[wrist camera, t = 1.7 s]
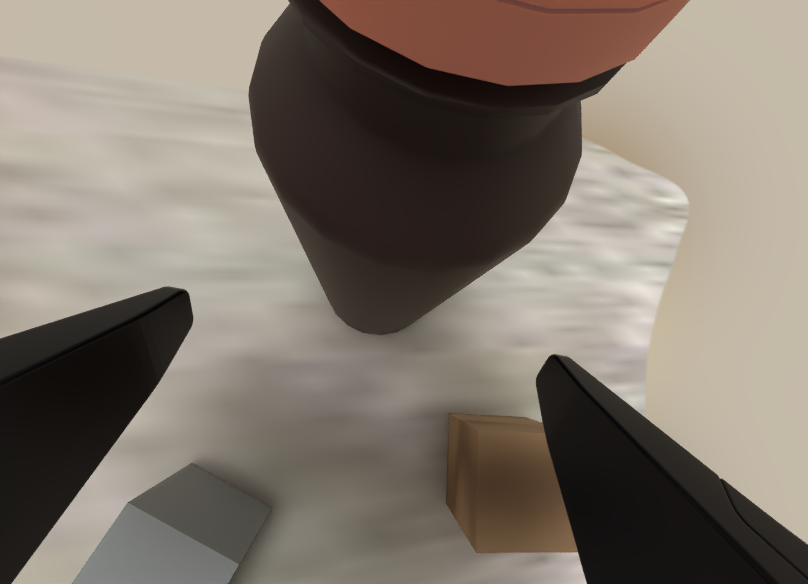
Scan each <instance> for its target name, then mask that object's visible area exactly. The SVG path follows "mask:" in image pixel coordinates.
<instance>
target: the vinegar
mask: <svg viewBox="0 0 808 584" xmlns="http://www.w3.org/2000/svg"><path fill="white" fill-rule="evenodd" d="M689 1H690V0H289V2H290V4H289V6H288V7H287V8H286V9H285V10H284V12H283V13H282V15H281V16H280V17H279V18H278V20H277V21H276V22H275V23H274V25H273V26H272V27H271V29H270V30H269V31H268V32H267V34H266V35H265V37H264V39H263V41H262V43H261V46H260V50H259V54H258V57H257V61H256V65H255V68H254V72H253V75H252V79H251V83H250V86H249V103H250V111H251V119H252V127H253V135H254V143H255V148H256V152H257V154H258V156H259V158H260V161H261V163H262V165H263V167H264V169H265V171H266V173H267V175H268V177H269V179H270V181H271V183H272V185H273V187H274V189H275V191H276V193H277V195H278V197H279V199H280V202H281V204H282V206H283V208H284V210H285V212H286V214H287V216H288V218H289V220H290V222H291V224H292V226H293V228H294V230H295V232H296V234H297V236H298V238H299V241H300V243H301V245H302V247H303V249H304V251H305V253H306V255H307V257H308V259H309V261H310V263H311V265H312V267H313V269H314V271H315V273H316V275H317V277H318V279H319V282H320V284H321V286H322V288H323V290H324V292H325V294H326V296H327V298H328V300H329V302H330V304H331V306H332V307H333V309H334V311H335V313H336V314H337V315H338V316H339V317H340V318H341V319H342V320H343V321H344V322H345V323H346V324H347V325H349V326H351V327H353V328H355V329H357V330H359V331H362V332H364V333H371V334H379V335H382V334H387V333H392V332H397V331H399V330H401V329H403V328H405V327H406V326H408V325H410V324H412V323H413V322H415V321H416V320H418V319H419V318H421V317H422V316H424V315H425V314H426V313H428V312H429V311H431V310H432V309H434V308H435V307H437V306H438V305H439V304H441V303H442V302H444V301H445V300H447V299H448V298H450V297H451V296H453V295H454V294H455V293H457V292H458V291H460V290H461V289H463V288H464V287H466V286H467V285H469V284H470V283H471V282H473V281H474V280H476V279H477V278H479V277H480V276H482V275H483V274H485V273H486V272H487V271H489V270H490V269H492V268H493V267H495V266H496V265H498V264H499V263H501V262H502V261H503V260H505V259H506V258H508V257H509V256H511V255H512V254H514V253H515V252H517V251H518V250H519V249H521V248H522V247H524V246H525V245H527V244H528V243H530V241H531V240H532V239H533V238H534V237H535V236H536V235H537V234H538V233H539V232H540V230H541V229H542V228H543V227H544V226H545V225H546V223H547V222H548V221H549V220H550V219H551V218H552V217H553V215H554V214H555V213H556V212H557V211H558V210H559V208H560V207H561V206H562V205H563V204H564V202H565V200H566V198H567V195H568V192H569V189H570V187H571V184H572V181H573V178H574V175H575V172H576V170H577V167H578V164H579V161H580V158H581V154H582V134H581V133H582V132H581V131H582V130H581V129H582V128H581V102H580V101H581V100H583V99H586V98H588V97H590V96H593V95H595V94H597V93H598V92H599V91H600V90H601V89H602V88H603V87H604V86H605V85H606V84H607V83H608V82H609V81H610V80H611V78H612V77H613V76H614V75H615V74H616V73H617V72H618V71H619V70H620V69H621V68H622V67H623V66H624V65H625V64H626V63H627V62H629V61H631V60H634V59H635V58H636V57H637V56H638V55H639V54H640V53H641V52H642V51H643V49H645V48H646V47H647V46H648V45H649V43H650V42H651V41H652V40H653V39H654V38H655V37H656V36H657V35H658V34H659V33H660V32H661V31H662V30H663V29H664V28H665V27H666V26H667V24H668V23H669V22H670V21H671V20H672V19H673V18H674V17H675V16H676V15H677V14H678V13H679V12H680V10H681V9H682V8H683V7H684V6H685V5H686V4H687V3H688V2H689Z"/></svg>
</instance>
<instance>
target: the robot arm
mask: <svg viewBox="0 0 808 584" xmlns="http://www.w3.org/2000/svg"><path fill="white" fill-rule="evenodd" d="M192 324H193V313H192V307H191V302H190V296H189V293H188V292H187V291H186V290H185V289H180V288H175V287H162V288H159V289H156V290H153V291H150V292H147V293H143V294H140V295H137V296H134V297H131V298H128V299H124V300H121V301H118V302H115V303H112V304H108V305H105V306H102V307H99V308H96V309H93V310H89V311H86V312H83V313H80V314H77V315H74V316H70V317H67V318H64V319H61V320H58V321H55V322H51V323H48V324H45V325H42V326H39V327H35V328H32V329H29V330H26V331H23V332H20V333H16V334H13V335H10V336H7V337H4V338H1V339H0V584H11V583H12V582H13V581H14V579H15V578H16V577H17V575H18V574H19V573H20V571H21V570H22V568H23V567H24V566H25V564H26V563H27V562H28V560H29V559H30V558H31V556H32V555H33V554H34V552H35V551H36V549H37V548H38V547H39V545H40V544H41V543H42V541H43V540H44V539H45V537H46V536H47V535H48V533H49V532H50V530H51V529H52V528H53V526H54V525H55V524H56V522H57V521H58V520H59V518H60V517H61V515H62V514H63V513H64V511H65V510H66V509H67V507H68V506H69V505H70V503H71V502H72V501H73V499H74V498H75V496H76V495H77V494H78V492H79V491H80V490H81V488H82V487H83V486H84V484H85V483H86V482H87V480H88V479H89V477H90V476H91V475H92V473H93V472H94V471H95V469H96V468H97V467H98V465H99V464H100V462H101V461H102V460H103V458H104V457H105V456H106V454H107V453H108V452H109V450H110V449H111V448H112V446H113V445H114V443H115V442H116V441H117V439H118V438H119V437H120V435H121V434H122V433H123V431H124V430H125V429H126V427H127V426H128V424H129V423H130V422H131V420H132V419H133V418H134V416H135V415H136V414H137V412H138V411H139V409H140V408H141V407H142V405H143V404H144V403H145V401H146V400H147V399H148V397H149V396H150V395H151V393H152V392H153V390H154V389H155V387H156V386H157V385H158V383H159V382H160V380H161V378H162V377H163V375H164V374H165V372H166V370H167V368H168V367H169V365H170V363H171V361H172V360H173V358H174V356H175V355H176V353H177V351H178V349H179V348H180V346H181V344H182V342H183V341H184V339H185V337H186V336H187V334H188V332H189V330H190V329H191V327H192ZM536 388H537V393H538V399H539V404H540V410H541V416H542V421H543V427H544V432H545V437H546V441H547V445H548V449H549V452H550V456H551V459H552V463H553V466H554V470H555V473H556V477H557V480H558V484H559V487H560V491H561V494H562V498H563V501H564V505H565V509H566V512H567V516H568V519H569V523H570V526H571V530H572V533H573V537H574V540H575V544H576V547H577V551H578V554H579V558H580V561H581V565H582V568H583V572H584V575H585V579H586V582H587V584H808V544H806V543H805V542H804V541H802V540H801V539H800V538H798V537H797V536H796V535H794V534H793V533H792V532H790V531H789V530H788V529H786V528H785V527H784V526H782V525H781V524H780V523H778V522H777V521H776V520H774V519H773V518H772V517H771V516H769V515H768V514H767V513H765V512H764V511H763V510H762V509H760V508H759V507H758V506H756V505H755V504H754V503H752V502H751V501H750V500H749V499H747V498H746V497H745V496H744V495H742V494H741V493H740V492H738V491H737V490H736V489H735V488H733V487H732V486H731V485H730V484H728V483H727V482H726V481H725V480H723V479H720V478H719V476H718V475H717V474H716V473H714V472H713V471H712V470H710V469H709V468H708V467H707V466H706V465H704V464H703V463H702V462H700V461H699V460H698V459H697V458H695V457H694V456H693V455H692V454H690V453H689V452H688V451H687V450H685V449H684V448H683V447H682V446H680V445H679V444H678V443H677V442H675V441H674V440H673V439H671V438H670V437H669V436H668V435H666V434H665V433H664V432H663V431H661V430H660V429H659V428H658V427H656V426H655V425H654V424H652V423H651V422H650V421H649V420H647V419H646V418H645V417H644V416H642V415H641V414H640V413H639V412H637V411H636V410H635V409H634V408H632V407H631V406H630V405H629V404H627V403H626V402H625V401H624V400H622V399H621V398H620V397H619V396H617V395H616V394H615V393H613V392H612V391H611V390H610V389H608V388H607V387H606V386H605V385H603V384H602V383H601V382H600V381H598V380H597V379H596V378H595V377H593V376H592V375H591V374H590V373H588V372H587V371H586V370H584V369H583V368H582V367H581V366H579V365H578V364H577V363H576V362H574V361H573V360H572V359H571V358H569V357H567V356H562V355H556V354H553V355H551V356H549V357H548V359H547V360H546V362H545V364H544V365H543V367H542V368H541V370H540V372H539V373H538V375H537V378H536Z"/></svg>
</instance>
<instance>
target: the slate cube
mask: <svg viewBox="0 0 808 584" xmlns="http://www.w3.org/2000/svg"><path fill="white" fill-rule="evenodd" d="M271 509H272V508H271V507H269V506H267V505H266V504H264V503H262V502H260V501H259V500H257V499H255V498H253V497H251V496H250V495H248V494H246V493H244V492H242V491H241V490H239V489H237V488H235V487H234V486H232V485H230V484H228V483H226V482H225V481H223V480H221V479H219V478H217V477H216V476H214V475H212V474H210V473H208V472H207V471H205V470H203V469H201V468H200V467H198V466H196V465H194V464H192V463H191V464H190V465H188V466H186V467H185V468H183V469H181V470H180V471H178V472H177V473H175V474H173V475H172V476H170V477H169V478H167V479H165V480H164V481H162V482H160V483H159V484H157V485H156V486H154V487H152V488H151V489H149V490H147V491H146V492H144V493H143V494H141V495H139V496H138V497H136V498H134V499H133V500H131V501H130V502H128V503H127V505H126V506H125V507H124V509H123V510H122V512H121V513H120V515H119V516H118V518H117V519H116V520H115V522H114V523H113V525H112V526H111V528H110V529H109V530H108V532H107V533H106V535H105V536H104V538H103V539H102V541H101V542H100V543H99V545H98V546H97V548H96V549H95V551H94V552H93V554H92V555H91V556H90V558H89V559H88V561H87V562H86V564H85V565H84V567H83V568H82V569H81V571H80V572H79V574H78V575H77V577H76V578H75V579H74V581H73V582H72V584H228V583H229V582H230V580H231V578H232V576H233V575H234V573H235V571H236V569H237V568H238V566H239V564H240V563H241V561H242V559H243V557H244V556H245V554H246V552H247V550H248V549H249V547H250V545H251V543H252V542H253V540H254V538H255V537H256V535H257V533H258V531H259V530H260V528H261V526H262V524H263V523H264V521H265V519H266V518H267V516H268V514H269V512H270V511H271Z"/></svg>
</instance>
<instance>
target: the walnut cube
mask: <svg viewBox="0 0 808 584" xmlns="http://www.w3.org/2000/svg"><path fill="white" fill-rule="evenodd" d="M446 504H447V506H448V507H449V509H450V511H451V512H452V514H453V516H454V517H455V519H456V521H457V522H458V524H459V525H460V527H461V529H462V530H463V532H464V534H465V535H466V537H467V538H468V540H469V542H470V543H471V545H472V547H473V548H474V550H475V552H476V553H494V552H578V551H577V547H576V544H575V540H574V537H573V533H572V530H571V526H570V523H569V519H568V516H567V512H566V509H565V505H564V501H563V498H562V494H561V491H560V487H559V484H558V480H557V477H556V473H555V470H554V466H553V463H552V459H551V456H550V452H549V449H548V445H547V441H546V437H545V432H544V427H543V423H540V422H537V421H534V420H531V419H528V418H525V417H509V416H490V415H471V414H451V413H449V433H448V462H447V491H446Z"/></svg>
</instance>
